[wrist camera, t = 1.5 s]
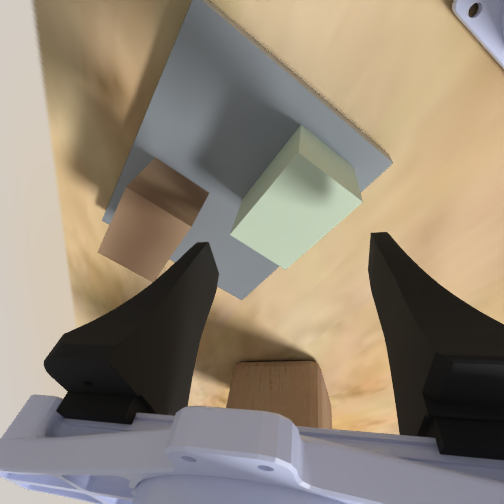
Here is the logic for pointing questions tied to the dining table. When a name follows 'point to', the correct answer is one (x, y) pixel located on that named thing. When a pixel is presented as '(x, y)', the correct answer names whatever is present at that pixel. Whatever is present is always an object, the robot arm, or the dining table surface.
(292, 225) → the green brick
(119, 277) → the dining table surface
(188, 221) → the walnut brick
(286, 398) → the block
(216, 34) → the baseplate
